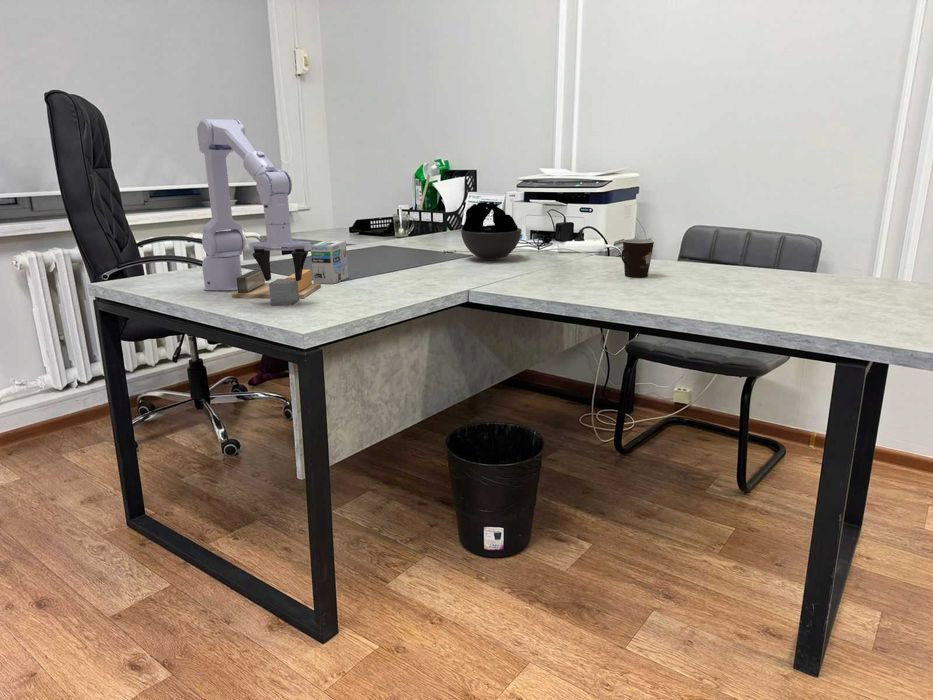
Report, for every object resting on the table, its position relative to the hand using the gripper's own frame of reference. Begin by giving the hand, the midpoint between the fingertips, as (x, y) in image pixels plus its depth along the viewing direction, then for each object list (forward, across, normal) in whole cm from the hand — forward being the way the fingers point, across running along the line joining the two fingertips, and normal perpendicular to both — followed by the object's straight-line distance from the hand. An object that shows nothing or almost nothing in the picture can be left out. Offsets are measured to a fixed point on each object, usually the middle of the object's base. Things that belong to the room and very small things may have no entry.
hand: (283, 280), depth 160 cm
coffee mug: (+6, +89, +37) cm, 97 cm away
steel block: (+6, 0, 0) cm, 6 cm away
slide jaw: (+4, -1, +12) cm, 13 cm away
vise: (+6, -7, +12) cm, 15 cm away
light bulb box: (+6, +3, +29) cm, 30 cm away
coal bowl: (+6, +47, +66) cm, 81 cm away
